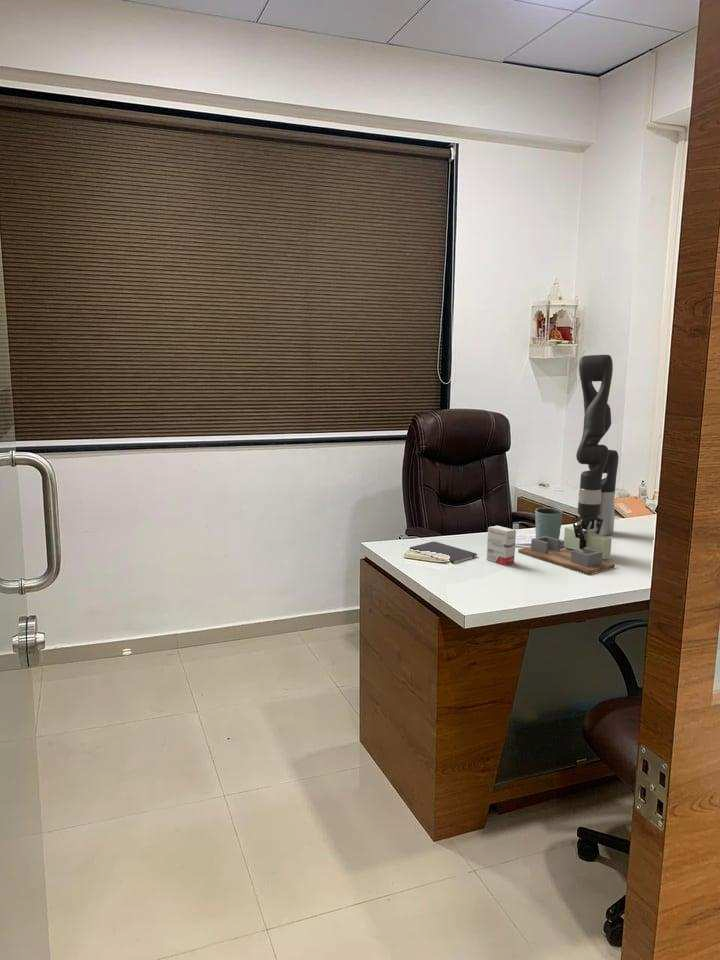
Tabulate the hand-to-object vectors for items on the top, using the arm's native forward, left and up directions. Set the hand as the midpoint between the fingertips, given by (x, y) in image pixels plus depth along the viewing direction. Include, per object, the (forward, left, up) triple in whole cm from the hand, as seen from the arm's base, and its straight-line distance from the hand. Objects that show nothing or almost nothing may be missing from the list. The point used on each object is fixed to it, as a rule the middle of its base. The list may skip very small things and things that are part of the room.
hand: (586, 548), depth 248 cm
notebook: (+41, -29, -3) cm, 51 cm away
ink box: (+31, -11, -3) cm, 33 cm away
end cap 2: (+11, +9, -1) cm, 14 cm away
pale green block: (0, 0, -1) cm, 1 cm away
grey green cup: (-2, -19, -3) cm, 19 cm away
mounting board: (+11, 0, -2) cm, 12 cm away
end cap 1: (+11, -9, -1) cm, 14 cm away
